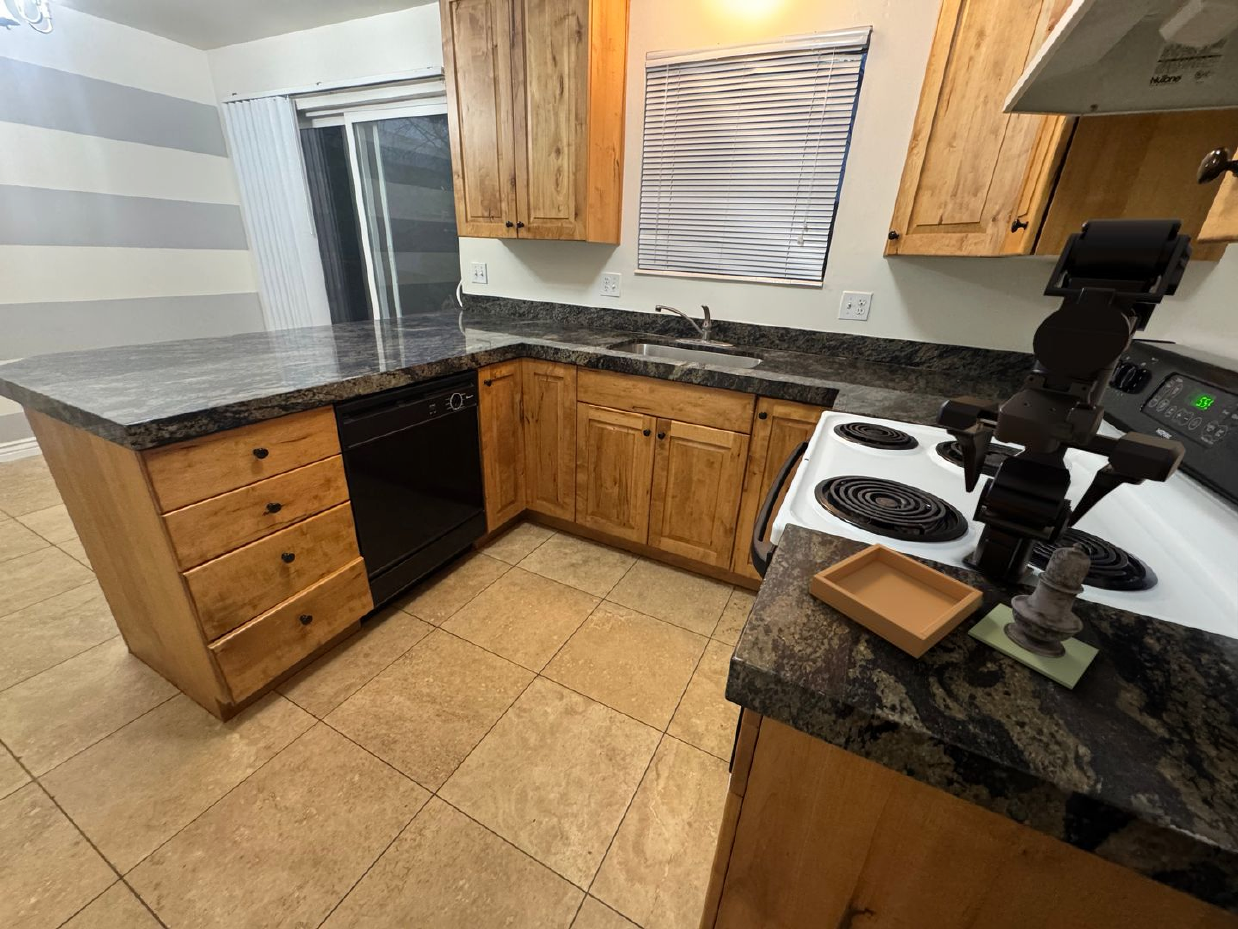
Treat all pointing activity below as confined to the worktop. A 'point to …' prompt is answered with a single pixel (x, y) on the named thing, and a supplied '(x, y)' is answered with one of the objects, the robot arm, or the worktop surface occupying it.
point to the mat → (1055, 668)
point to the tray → (896, 597)
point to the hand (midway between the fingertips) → (1016, 508)
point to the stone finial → (1050, 605)
